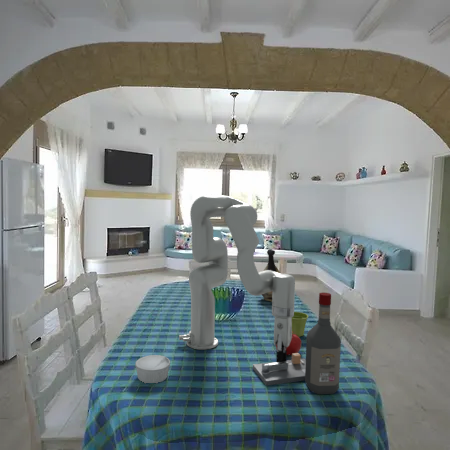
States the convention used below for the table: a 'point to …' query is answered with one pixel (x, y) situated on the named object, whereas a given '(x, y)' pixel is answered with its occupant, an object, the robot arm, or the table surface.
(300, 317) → the plant pot
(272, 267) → the ceramic jug
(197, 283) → the robot arm
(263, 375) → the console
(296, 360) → the fader knob
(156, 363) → the ramekin
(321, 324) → the liquor
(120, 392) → the table surface
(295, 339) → the pomegranate
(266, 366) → the silver metal bar
